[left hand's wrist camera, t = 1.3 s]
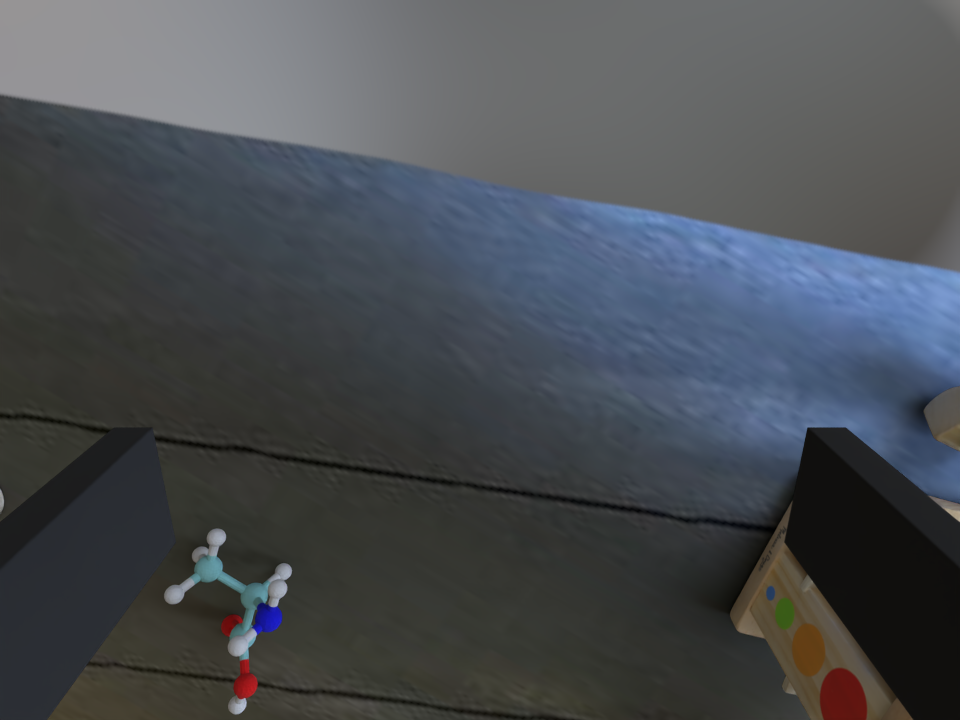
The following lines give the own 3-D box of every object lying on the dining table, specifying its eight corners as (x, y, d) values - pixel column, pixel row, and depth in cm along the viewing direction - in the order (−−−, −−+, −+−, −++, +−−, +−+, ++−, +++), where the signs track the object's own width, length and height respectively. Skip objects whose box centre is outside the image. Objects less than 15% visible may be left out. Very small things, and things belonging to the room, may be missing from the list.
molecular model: (106, 587, 44) (125, 686, 36) (218, 490, 46) (259, 563, 39) (215, 658, 50) (251, 755, 42) (308, 570, 53) (358, 646, 45)
